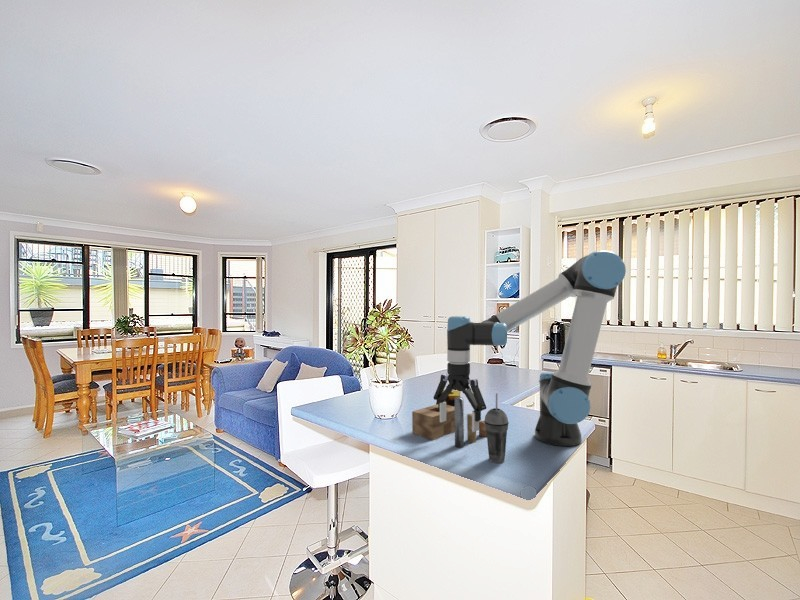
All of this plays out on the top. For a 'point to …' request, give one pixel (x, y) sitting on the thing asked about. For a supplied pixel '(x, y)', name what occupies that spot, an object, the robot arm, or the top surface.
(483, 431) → the short pin
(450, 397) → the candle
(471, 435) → the medium pin
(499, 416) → the beverage cup
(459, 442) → the long pin
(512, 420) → the top surface
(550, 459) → the top surface
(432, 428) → the hole block
